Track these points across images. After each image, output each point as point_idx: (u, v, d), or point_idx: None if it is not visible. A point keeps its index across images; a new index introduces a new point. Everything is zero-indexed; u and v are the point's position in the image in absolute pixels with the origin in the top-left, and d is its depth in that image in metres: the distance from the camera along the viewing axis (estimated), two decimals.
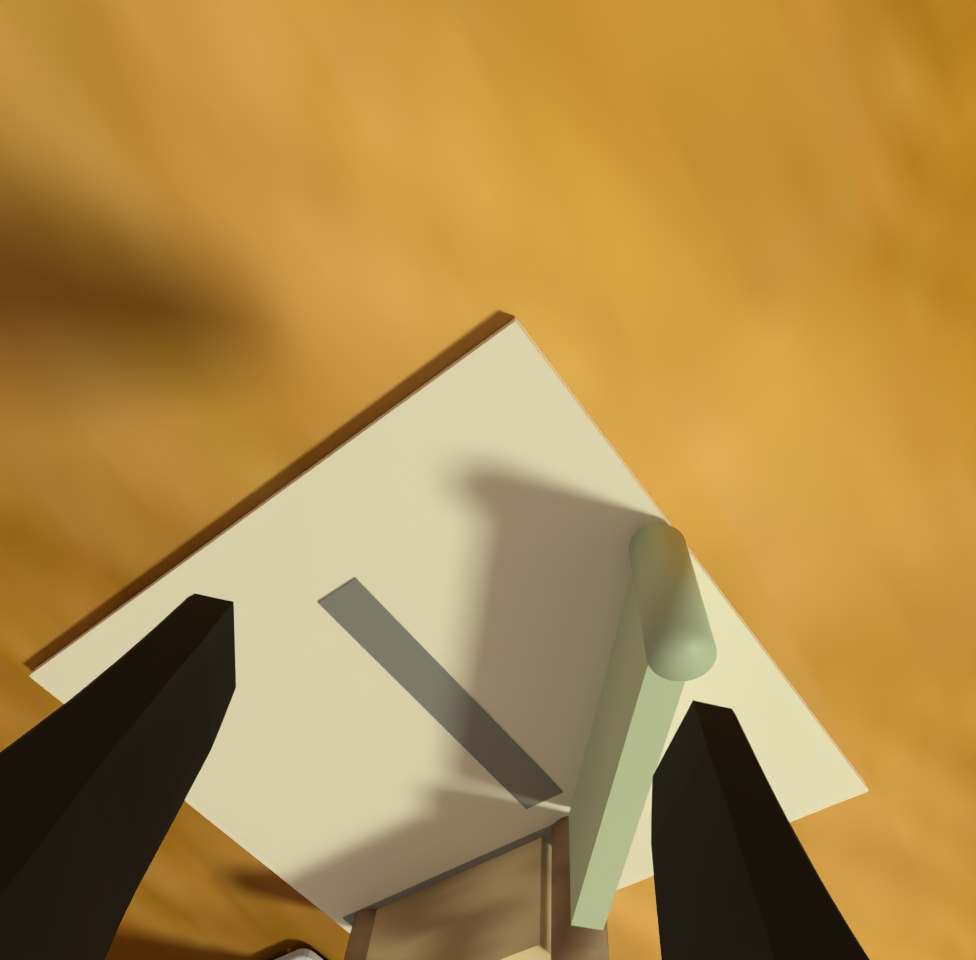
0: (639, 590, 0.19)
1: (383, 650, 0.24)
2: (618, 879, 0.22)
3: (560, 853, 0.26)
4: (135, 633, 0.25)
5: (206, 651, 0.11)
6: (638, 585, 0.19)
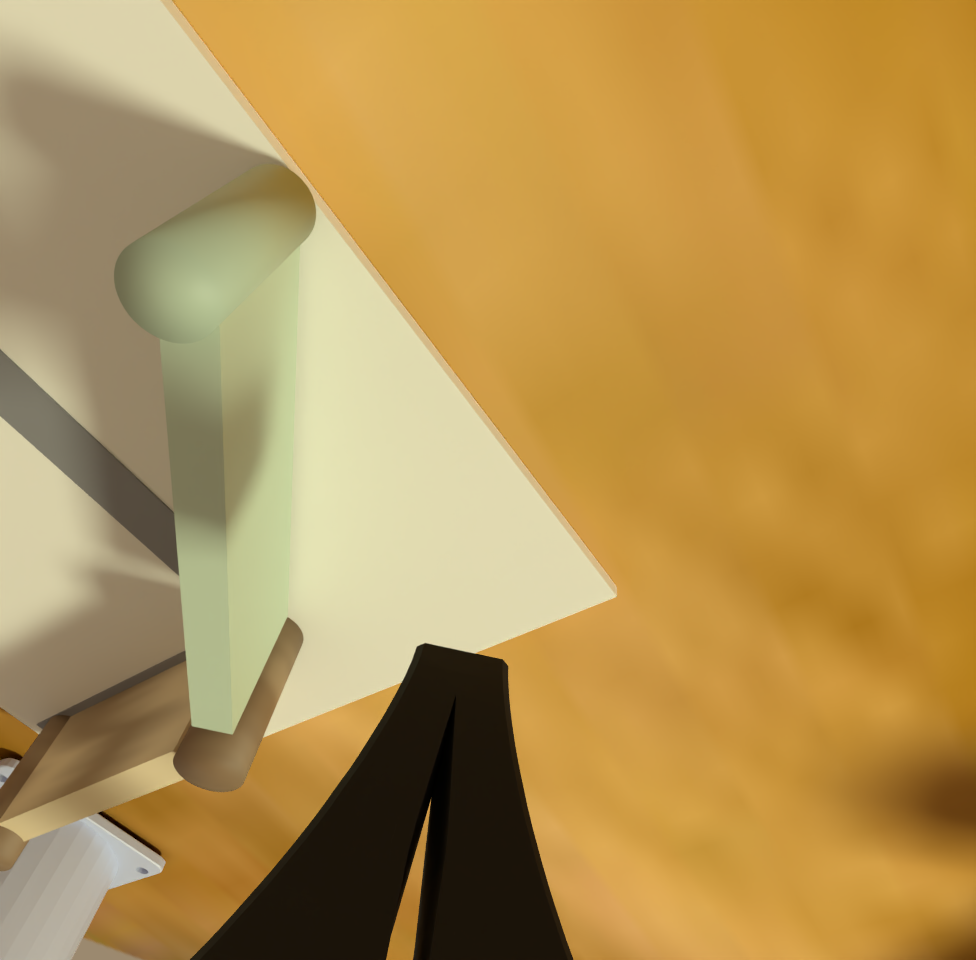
0: None
1: None
2: (227, 667, 0.17)
3: None
4: None
5: None
6: None
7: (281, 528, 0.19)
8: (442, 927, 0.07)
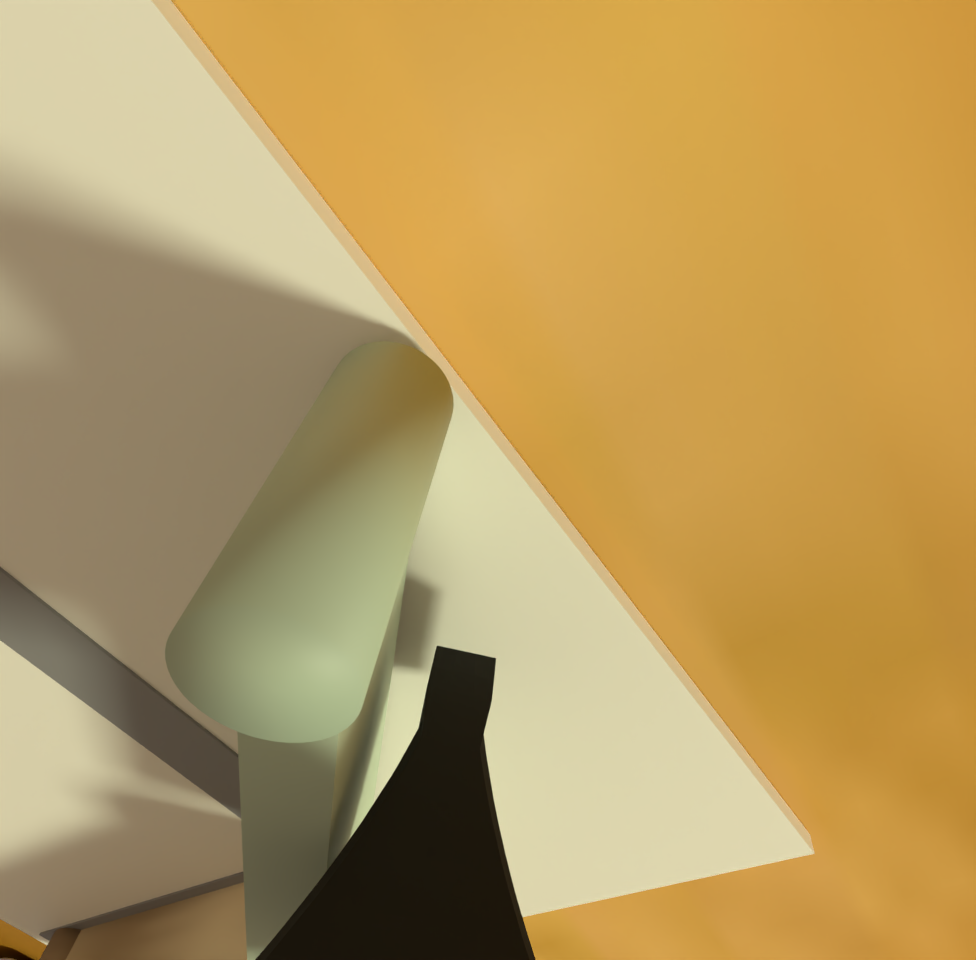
0: None
1: None
2: None
3: None
4: None
5: None
6: None
7: (371, 787, 0.14)
8: (401, 918, 0.07)
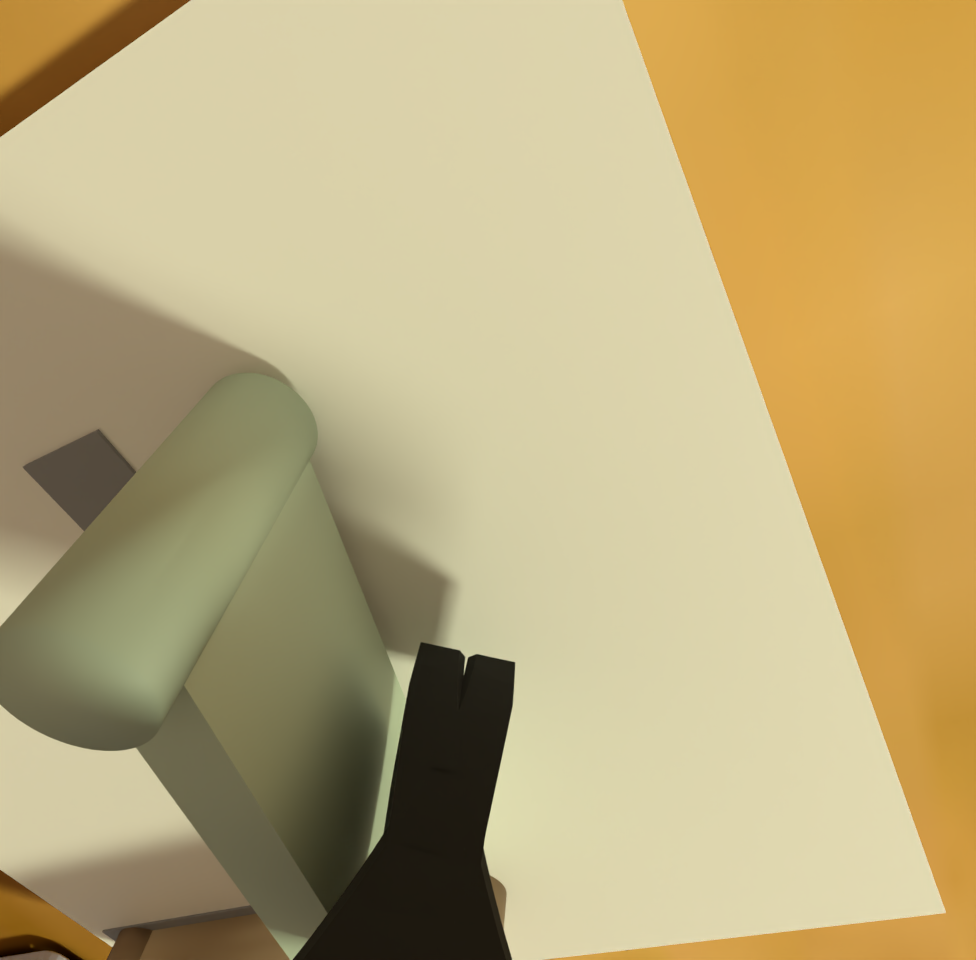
0: None
1: None
2: None
3: None
4: None
5: None
6: None
7: None
8: (376, 913, 0.07)
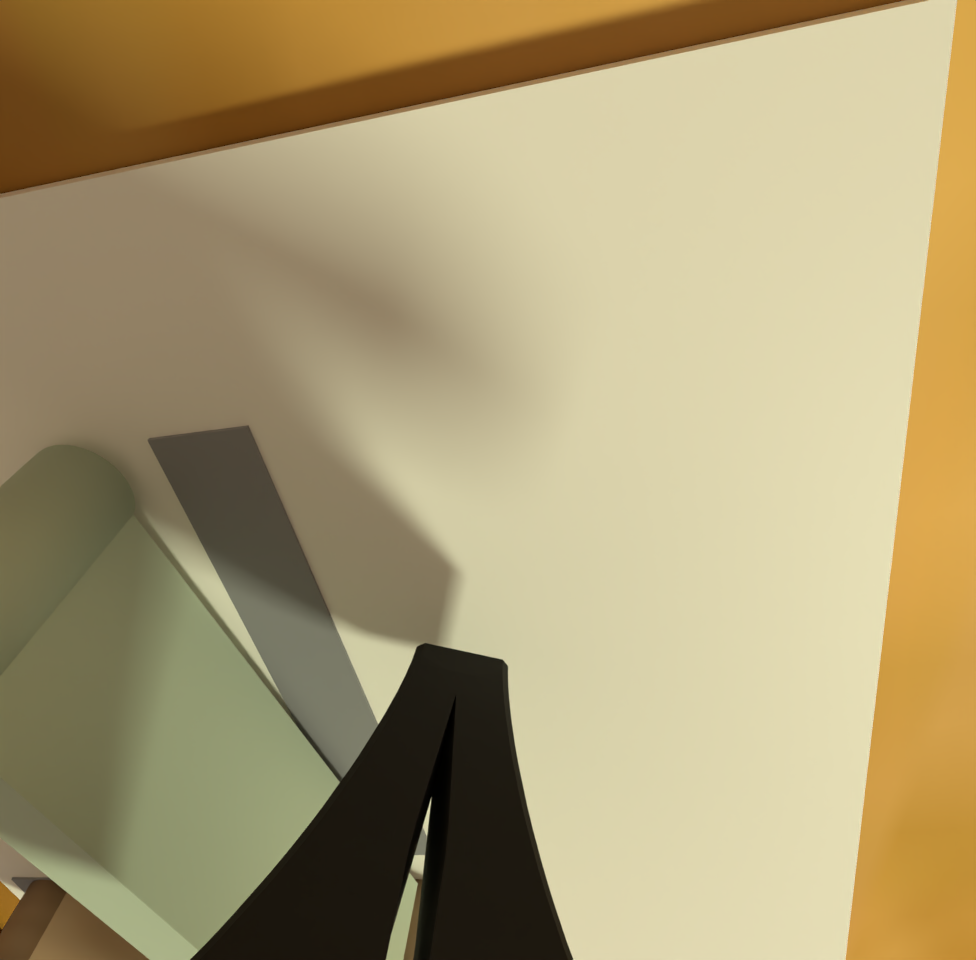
0: None
1: (243, 571, 0.12)
2: None
3: None
4: None
5: None
6: None
7: None
8: (442, 927, 0.07)
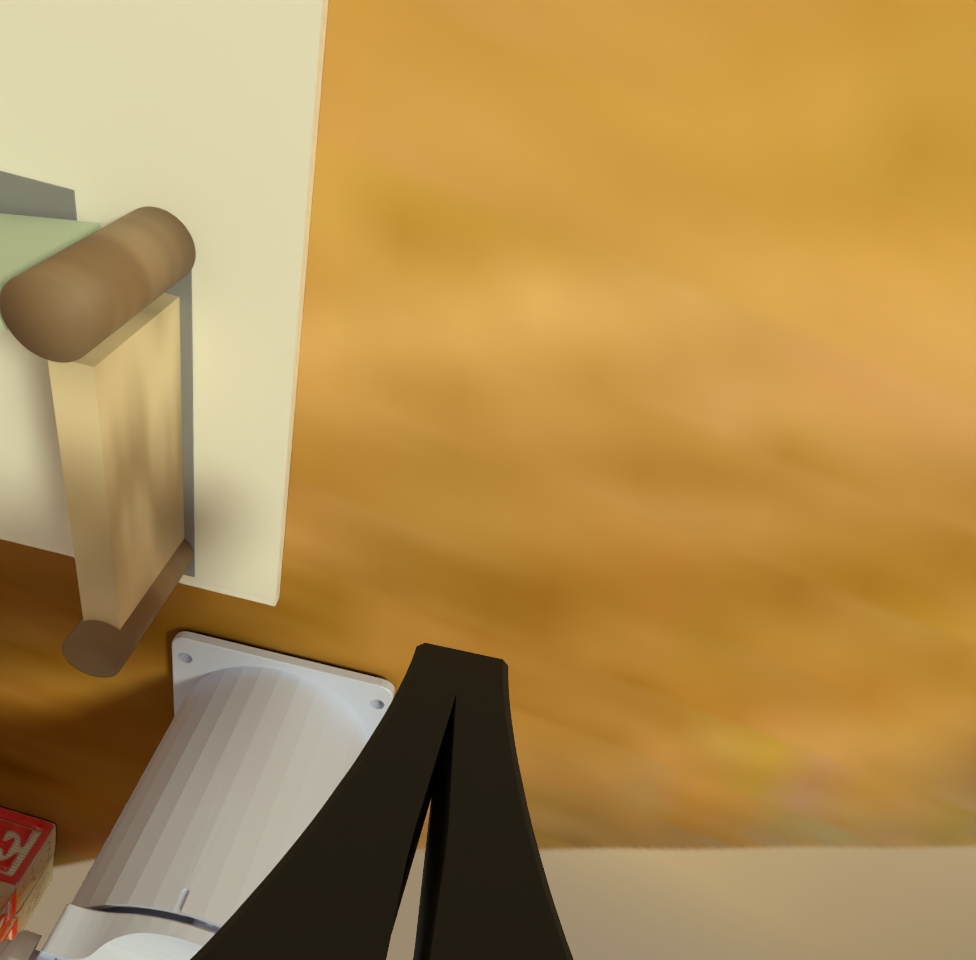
0: None
1: None
2: None
3: None
4: None
5: (452, 704, 0.11)
6: None
7: None
8: (442, 927, 0.07)
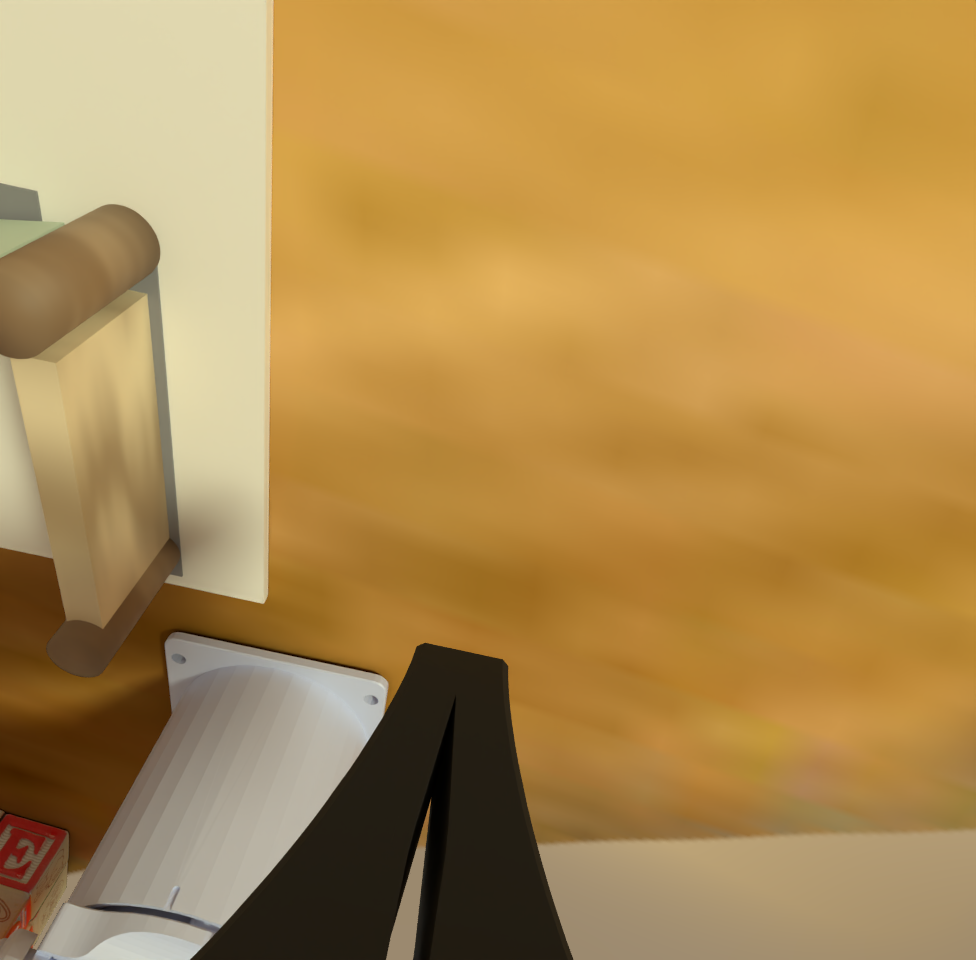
0: None
1: None
2: None
3: None
4: None
5: None
6: None
7: None
8: (442, 927, 0.07)
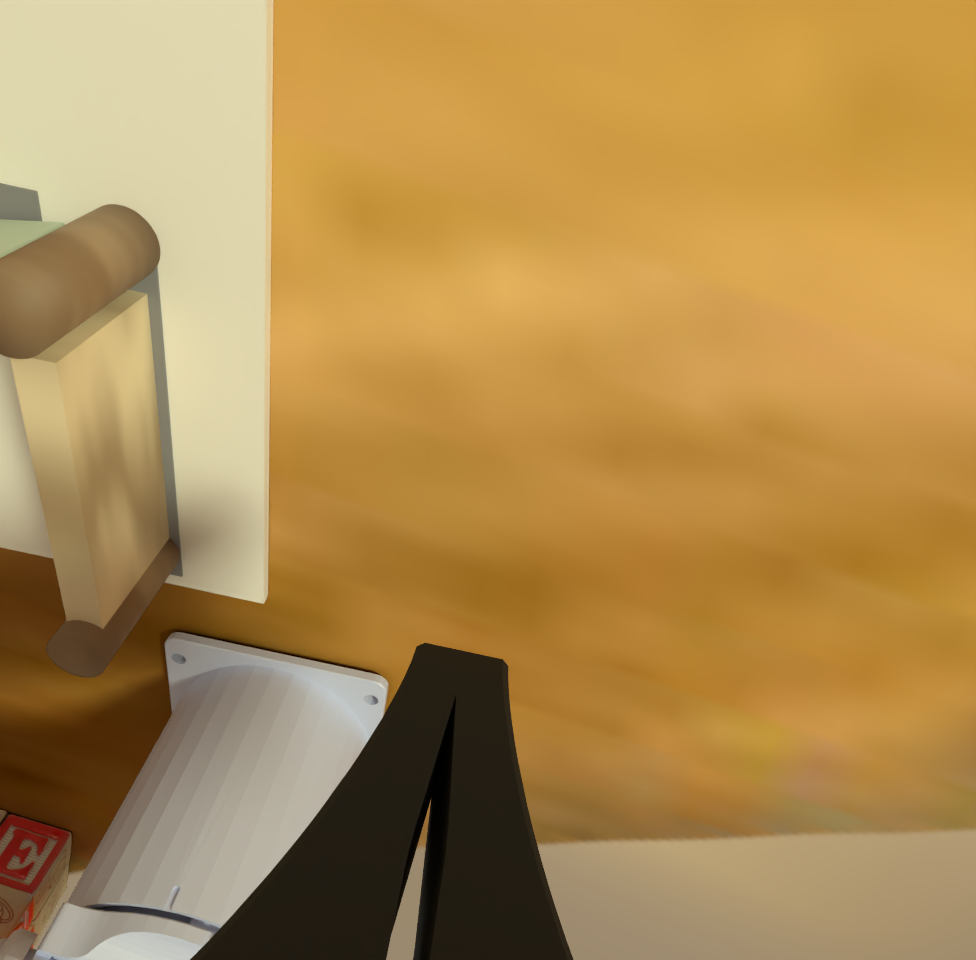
0: None
1: None
2: None
3: None
4: None
5: None
6: None
7: None
8: (442, 927, 0.07)
